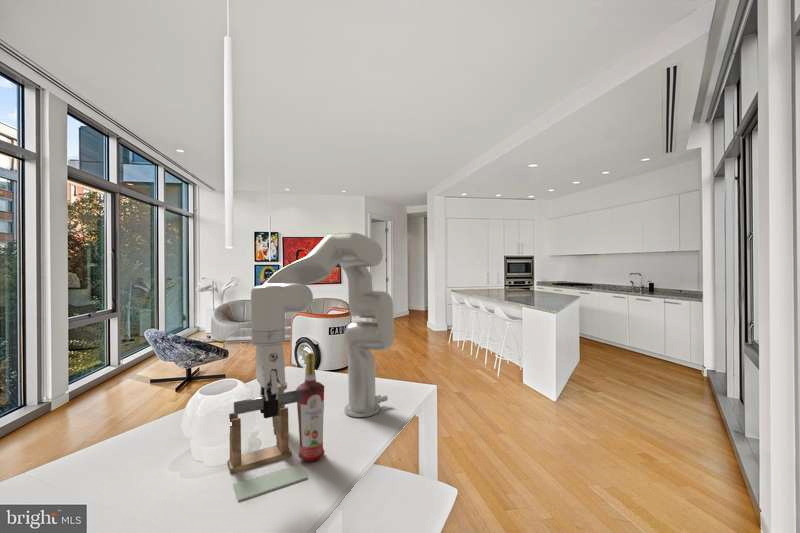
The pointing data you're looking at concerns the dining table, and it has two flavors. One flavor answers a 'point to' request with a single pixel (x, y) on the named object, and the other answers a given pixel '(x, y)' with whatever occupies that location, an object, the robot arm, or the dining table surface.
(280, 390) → the handle
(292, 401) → the rail
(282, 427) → the hook stand
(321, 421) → the liquor
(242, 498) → the mat
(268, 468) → the dining table surface
